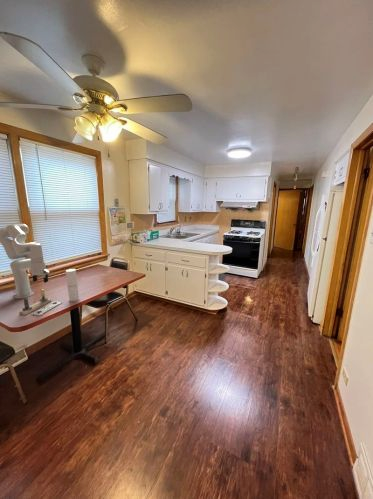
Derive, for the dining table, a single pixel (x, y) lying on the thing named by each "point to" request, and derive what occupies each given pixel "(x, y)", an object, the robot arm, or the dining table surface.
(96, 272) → the dining table surface
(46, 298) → the slide pin
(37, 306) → the divider rail
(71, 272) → the cylindrical container
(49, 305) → the flange plate
